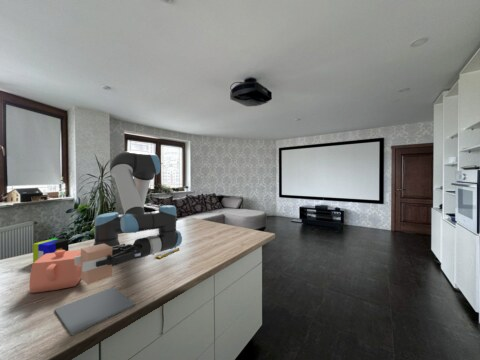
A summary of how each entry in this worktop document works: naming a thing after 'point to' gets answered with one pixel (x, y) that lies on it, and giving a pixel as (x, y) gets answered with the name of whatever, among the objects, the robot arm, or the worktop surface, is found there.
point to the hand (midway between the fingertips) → (78, 264)
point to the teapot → (55, 271)
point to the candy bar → (167, 252)
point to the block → (93, 254)
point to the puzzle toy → (49, 247)
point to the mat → (92, 309)
